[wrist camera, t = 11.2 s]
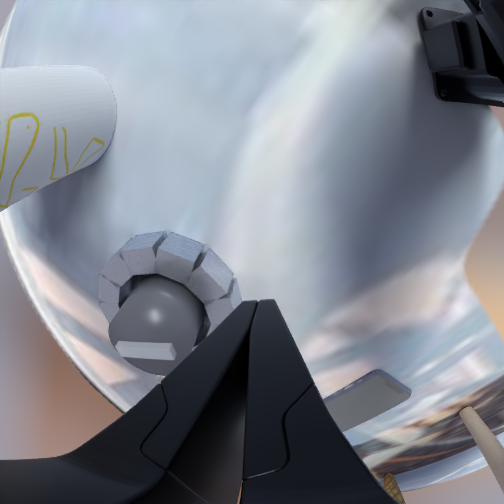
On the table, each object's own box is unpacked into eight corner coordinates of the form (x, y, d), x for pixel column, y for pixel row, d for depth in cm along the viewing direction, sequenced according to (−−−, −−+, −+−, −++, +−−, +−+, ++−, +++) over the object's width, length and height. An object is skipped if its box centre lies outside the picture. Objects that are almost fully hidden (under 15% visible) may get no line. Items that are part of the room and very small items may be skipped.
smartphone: (274, 426, 32) (379, 371, 25) (274, 419, 33) (377, 364, 26) (316, 443, 34) (414, 395, 27) (316, 437, 34) (413, 389, 28)
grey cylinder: (74, 188, 21) (-39, 264, 10) (27, 120, 18) (-88, 162, 8) (137, 117, 18) (-7, 159, 7) (79, 45, 15) (-57, 46, 5)
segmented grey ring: (223, 223, 21) (214, 239, 18) (252, 344, 26) (249, 366, 24) (93, 242, 23) (77, 256, 21) (140, 344, 28) (131, 362, 26)
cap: (197, 262, 22) (167, 319, 17) (216, 323, 25) (196, 383, 19) (131, 268, 24) (91, 318, 18) (154, 324, 26) (126, 377, 21)
